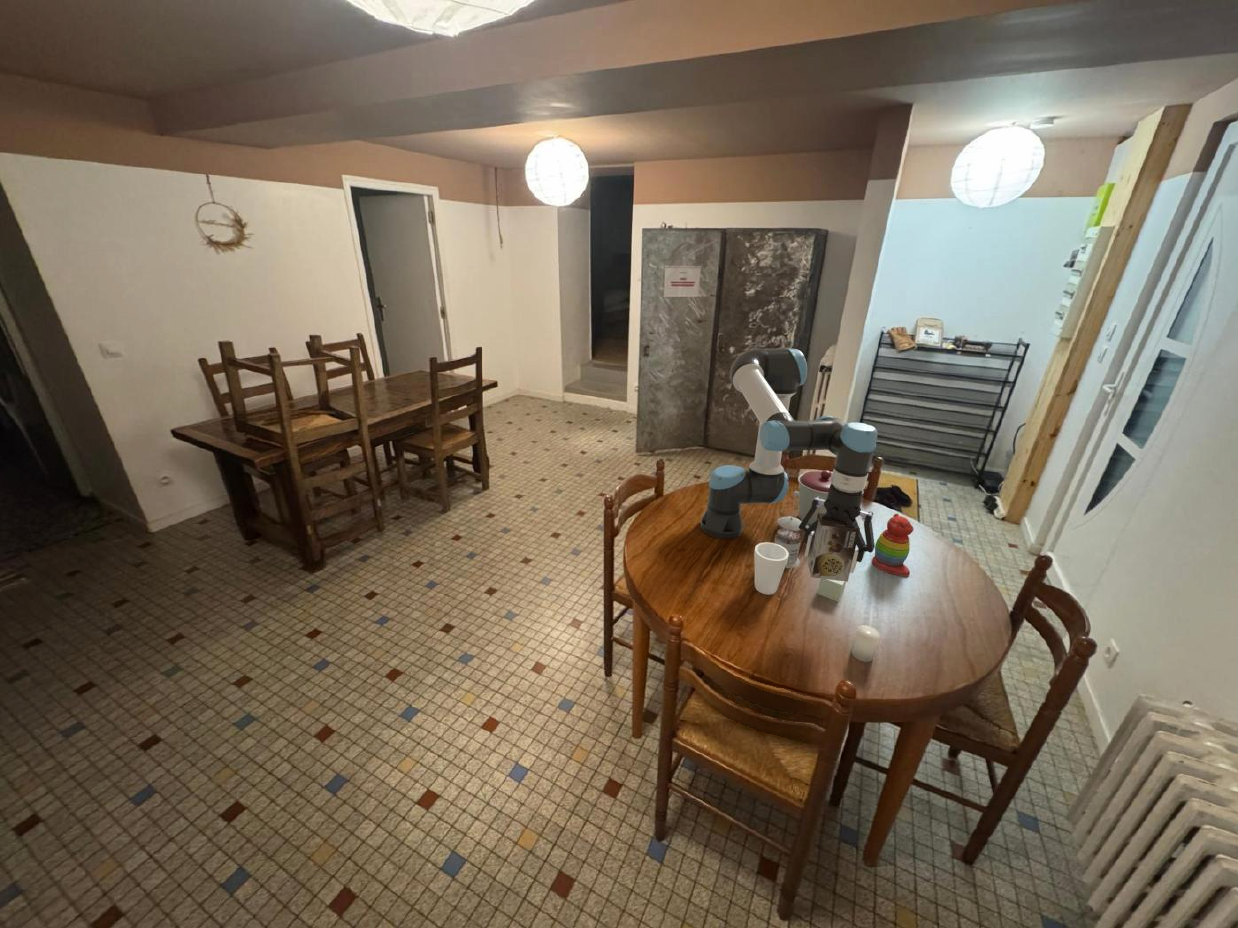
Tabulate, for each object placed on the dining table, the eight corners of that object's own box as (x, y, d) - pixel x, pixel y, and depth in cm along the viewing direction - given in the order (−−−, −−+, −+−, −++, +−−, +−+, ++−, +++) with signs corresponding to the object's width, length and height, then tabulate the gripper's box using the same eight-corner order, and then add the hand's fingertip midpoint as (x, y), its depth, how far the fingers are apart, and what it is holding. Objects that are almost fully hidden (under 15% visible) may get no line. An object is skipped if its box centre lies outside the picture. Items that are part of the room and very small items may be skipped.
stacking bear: (911, 577, 145) (927, 528, 138) (876, 573, 147) (890, 524, 140) (899, 557, 155) (913, 511, 148) (866, 554, 157) (879, 507, 150)
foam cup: (745, 578, 144) (750, 542, 139) (774, 577, 145) (780, 541, 140) (756, 598, 135) (762, 561, 130) (786, 597, 136) (794, 560, 131)
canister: (809, 536, 166) (820, 483, 158) (781, 512, 183) (790, 463, 174) (852, 531, 170) (865, 478, 162) (822, 507, 186) (832, 459, 178)
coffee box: (842, 567, 125) (855, 515, 119) (847, 582, 120) (861, 528, 113) (806, 563, 127) (817, 511, 121) (810, 577, 121) (822, 524, 115)
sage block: (816, 593, 138) (820, 577, 136) (822, 583, 142) (826, 567, 140) (838, 602, 135) (842, 585, 132) (843, 591, 139) (847, 574, 137)
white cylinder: (849, 655, 116) (855, 633, 113) (853, 643, 120) (859, 622, 117) (870, 665, 113) (877, 643, 111) (875, 652, 117) (881, 631, 114)
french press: (765, 562, 152) (777, 494, 142) (772, 545, 161) (783, 479, 151) (797, 571, 148) (811, 501, 138) (802, 552, 157) (816, 486, 147)
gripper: (794, 478, 117) (780, 552, 126) (897, 507, 104) (874, 586, 113) (804, 469, 122) (790, 540, 131) (903, 494, 109) (880, 572, 118)
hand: (829, 562), depth 122 cm, fingers closed on coffee box, 10 cm apart
